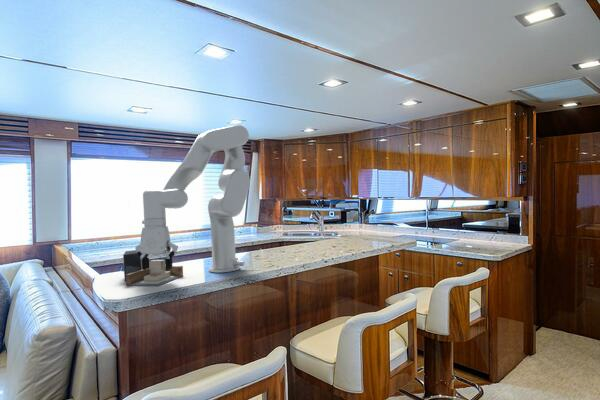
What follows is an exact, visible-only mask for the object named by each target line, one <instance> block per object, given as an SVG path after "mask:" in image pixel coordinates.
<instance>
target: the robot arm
mask: <svg viewBox="0 0 600 400" xmlns="http://www.w3.org/2000/svg"><path fill="white" fill-rule="evenodd" d="M249 139H250V133H249V131H248V129H247V128H246V127H245V126H243V125H241V124H236V125H230V126H226V127H221V128H216V129H211V130H207V131H205V132H203V133H200V134H199V135H198V136H197V137H196V138H195V140H194V142H193V144H192V145H191V147H190V149H188V150H189V151H188V153H187V154H186V156H185V158H184V159H183V160H182V162H181V164H180V165H179V166H178V167H177V168H176V170H175V171H174V173H173V174H172V175H171V176H170V177H169V179H168V181H167V182H166V184H165V186H164V187H163V189H149V190H144V192H143V193H142V200H143V201H142V205H143V206H142V207H143V220H142V221H141V224H142V225H144V227H141V235H140V244H138V245H136V246H134V248H135V250H136V251H137V254H138V255H139V256H140V259H142V269H143V270H145V269H148V268H149V261H150V258H149V256H150V255H164V256H165V259H164V260H165V266H166V270H169V269H171V268H172V266H173V258H174V257H175V255H176V254H177V251H178V249H179V246H178V245H176V244H174V243H173V242H172V241H171V236H170V234H171V233H170V230H169V227H168V225H167V220H166V219H167V218H166V217H167V216H166V215H167V214H166V209H177V210H178V209H181V208H183V207H185V206H186V204H187V203H188V201H189V196H188V194H187V192H186V191H185V190H186V189H187V187H188V186H189V185H190V184H191V183H192V182H193V181H195V180H196V179H197V178H198V177H200V175H202V174H203V172H204V170H205V169H206V166H207V165H208V163H209V161H210V159H211V158H212V156H213V154H214V153H216V152H220V151H224V154H225V156H224V162H223V164H222V165H223V166H222V169H221V172H220V175H219V178H218V183H217V185H218V187H219V189H220V190H221V191H222V192H224V193H220V194H216V195H214V196H212V197H211V198H210V200H209V201H208V204H207V211H208V216H209V220H210V221H209V222H210V234H211V235H210V237H211V238H210V239H211V256H212V257H211V259H212V261H211V262H212V266H210V267H208V272H210V273H215V274H216V273H218V274H219V273H231V272H235V271H239V270H240V267H244V266H245V260H238V257H236V240H235V238H236V237H235V224H234V219H233V218H235V217H237V216H239V215H240V214H241V212H242V211H243V209H244V206H245V203H246V200H247V197H248V192H249V189H250V187H251V186H250V185H251V178H250V174H248V172H247V171H246V170H245V163H246V154H245V152H244V149H243V147H242V146H244V145H246V143H247V142H248V141H249ZM171 249H172V250H171Z"/></svg>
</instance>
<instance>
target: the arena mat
mask: <svg viewBox="0 0 600 400" xmlns="http://www.w3.org/2000/svg"><path fill="white" fill-rule="evenodd" d="M182 277H183V276H182V275H181V276H171V277H169V278H166V279H163V280H161V281H158V282H144V280H141V281H138V282H135V283H132V284H130V285H129V284H126V283H125V284H126V286H127V285H129V287H161V286H162V285H165V284H168V283H170V282H172V281H175V280H177V279H179V278H182ZM127 287H128V286H127Z"/></svg>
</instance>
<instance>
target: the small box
mask: <svg viewBox="0 0 600 400" xmlns="http://www.w3.org/2000/svg"><path fill="white" fill-rule="evenodd" d="M122 257H123V258H122V261H123V274H124V282H126V274H129V273H133V272H136V271H139V270H142V259H140V256H139V255H138V254H137V251H136V249H135V250H134V249H133V250H126V251H124V253H123V255H122Z"/></svg>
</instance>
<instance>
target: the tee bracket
mask: <svg viewBox="0 0 600 400" xmlns="http://www.w3.org/2000/svg"><path fill="white" fill-rule="evenodd" d="M149 269H150V275H147V276H144V282H158V281H161V280H163V279H166V278H169V277H171V271H166V269H165V259H152V260H149Z"/></svg>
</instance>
